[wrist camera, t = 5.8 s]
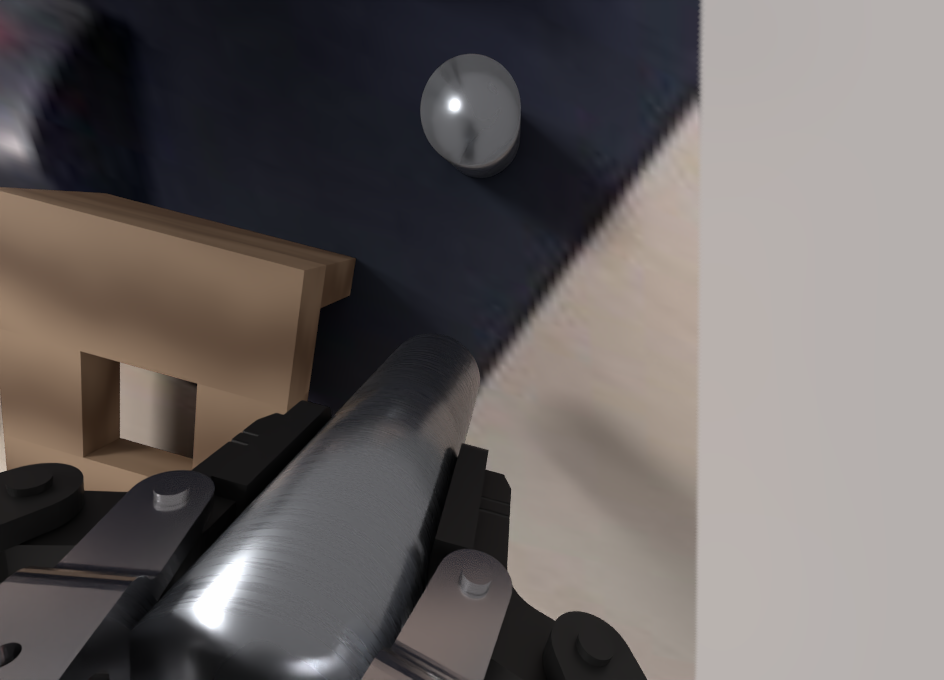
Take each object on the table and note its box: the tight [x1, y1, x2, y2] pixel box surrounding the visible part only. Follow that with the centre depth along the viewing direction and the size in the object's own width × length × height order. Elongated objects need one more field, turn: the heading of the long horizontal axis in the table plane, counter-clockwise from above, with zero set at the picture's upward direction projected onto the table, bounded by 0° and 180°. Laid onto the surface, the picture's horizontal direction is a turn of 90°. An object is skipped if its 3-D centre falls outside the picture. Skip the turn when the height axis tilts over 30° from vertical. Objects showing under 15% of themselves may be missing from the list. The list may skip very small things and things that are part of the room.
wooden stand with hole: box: [0, 187, 356, 492], centre depth 23 cm, size 18×14×6 cm
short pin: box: [420, 54, 521, 178], centre depth 18 cm, size 4×4×5 cm
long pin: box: [130, 333, 480, 680], centre depth 11 cm, size 4×4×12 cm
